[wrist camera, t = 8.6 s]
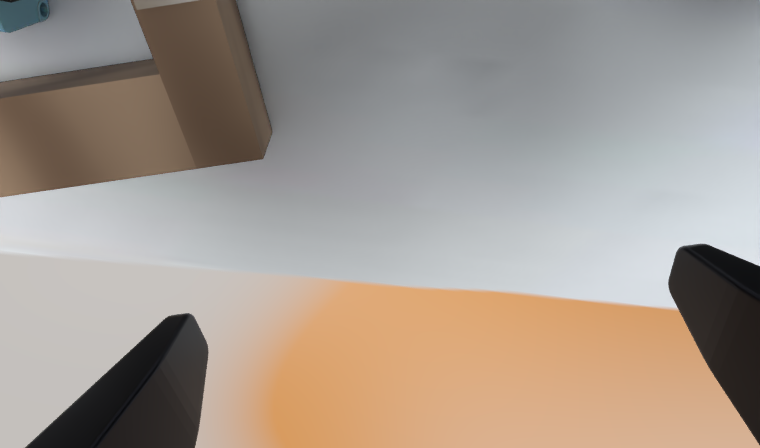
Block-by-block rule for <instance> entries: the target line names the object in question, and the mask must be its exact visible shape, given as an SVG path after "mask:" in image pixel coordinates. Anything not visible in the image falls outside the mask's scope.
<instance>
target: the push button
mask: <svg viewBox="0 0 760 448" xmlns="http://www.w3.org/2000/svg"><path fill="white" fill-rule="evenodd" d="M48 16H49V5H48V0H0V31H2V32H8V33H11V32H13V31H16V30H19V29H22V28H24V27H27V26H30V25H32V24H35V23H38V22H42V21H44V20H46V19H47V18H48Z"/></svg>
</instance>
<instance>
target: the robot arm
mask: <svg viewBox="0 0 760 448" xmlns="http://www.w3.org/2000/svg"><path fill="white" fill-rule="evenodd" d="M668 285H669V290H670V293H671V296H672V297H673V299H674V301H675V303H676V305H677V307H678V309H679V311H680V313H681V315H682V317H683V319H684V321H685V323H686V325H687V327H688V329H689V331H690V332H691V335H692V336H693V338H694V340H695V342H696V344H697V346H698V348H699V350H700V352H701V354H702V356H703V358H704V359H705V361H706V363H707V365H708V367H709V368H710V370H711V371H712V373H713V374H714V376H715V378H716V379H717V381H718V382H719V384H720V385H721V387H722V388H723V390H724V391H725V393H726V394H727V396H728V398H729V399H730V400H731V402H732V404H733V405H734V407H735V408H736V410H737V411H738V413H739V414H740V416H741V417H742V419H743V420H744V422H745V423H746V425H747V427H748V428H749V430H750V431H751V433H752V434H753V436H754V437H755V439H756V440H757V442H758V443H759V445H760V266H758V265H755V264H753V263H751V262H748V261H746V260H743V259H741V258H738V257H736V256H734V255H731V254H729V253H726V252H724V251H722V250H719V249H717V248H714V247H712V246H710V245H707V244H695V245H687V246H682V247H680V248H679V249H678V250H677V252H676V255H675V259H674V262H673V266H672V269H671V273H670V277H669V281H668ZM207 361H208V345H207V342H206V340H205V338H204V336H203V334H202V332H201V330H200V328H199V326H198V324H197V322H196V320H195V318H194V316H193V315H191V314H189V313H185V314H177V315H171V316H168V317H167V318H165V319H164V320H163V321H162V322H161V323H160V324H159V325H158V326H157V327H155V329H153V330H152V331H151V332H150V333H149V334H148V335H147V336H146V337H145V338H144V339H143V340H141V341H140V342H139V343H138V344H137V345H136V346H135V347H134V348H133V349H132V350H131V351H130V352H129V353H127V354H126V355H125V356H124V357H123V358H122V359H121V360H120V361H119V362H118V363H116V364H115V365H114V366H113V367H112V368H111V369H110V370H109V371H108V372H107V373H106V374H104V375H103V376H102V377H101V378H100V379H99V380H98V381H97V382H96V383H95V384H94V385H93V386H91V388H89V389H88V390H87V391H86V392H85V393H84V394H83V395H82V396H81V397H80V398H78V399H77V400H76V401H75V402H74V403H73V404H72V405H71V406H70V407H69V408H68V409H67V410H65V411H64V412H63V413H62V414H61V415H60V416H59V417H58V418H57V419H56V420H55V421H53V423H51V424H50V425H49V426H48V427H47V428H46V429H45V430H44V431H43V432H41V433H40V434H39V435H38V436H37V437H36V438H35V439H34V440H33V441H32V442H31V443H30V444H28V445H27V446H26V447H25V448H195V445H196V440H197V435H198V430H199V424H200V417H201V409H202V401H203V393H204V385H205V377H206V369H207Z"/></svg>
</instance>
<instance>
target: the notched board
mask: <svg viewBox="0 0 760 448" xmlns="http://www.w3.org/2000/svg"><path fill="white" fill-rule="evenodd" d="M131 3H132V5H133V8H134V10H135V13H136V16H137V18H138V21H139V23H140V26H141V28H142V31H143V33H144V36H145V38H146V41H147V44H148V46H149V49H150V51H151V54H152V56H153V59H149V60H143V61H136V62H129V63H123V64H116V65H110V66H103V67H97V68H90V69H84V70H77V71H71V72H64V73H57V74H51V75H44V76H38V77H31V78H25V79H18V80H12V81H5V82H0V197H5V196H12V195H19V194H26V193H33V192H40V191H46V190H53V189H60V188H67V187H74V186H81V185H88V184H95V183H101V182H108V181H115V180H122V179H129V178H136V177H143V176H150V175H156V174H163V173H170V172H177V171H184V170H191V169H198V168H205V167H211V166H218V165H225V164H232V163H239V162H246V161H253V160H260V159H263V158H264V155H265V152H266V149H267V146H268V143H269V141H270V138H271V135H272V129H271V125H270V122H269V118H268V115H267V111H266V107H265V104H264V100H263V97H262V93H261V89H260V86H259V82H258V79H257V75H256V71H255V68H254V64H253V61H252V57H251V54H250V50H249V46H248V43H247V39H246V36H245V32H244V28H243V25H242V21H241V18H240V14H239V10H238V7H237V3H236V0H131Z"/></svg>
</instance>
